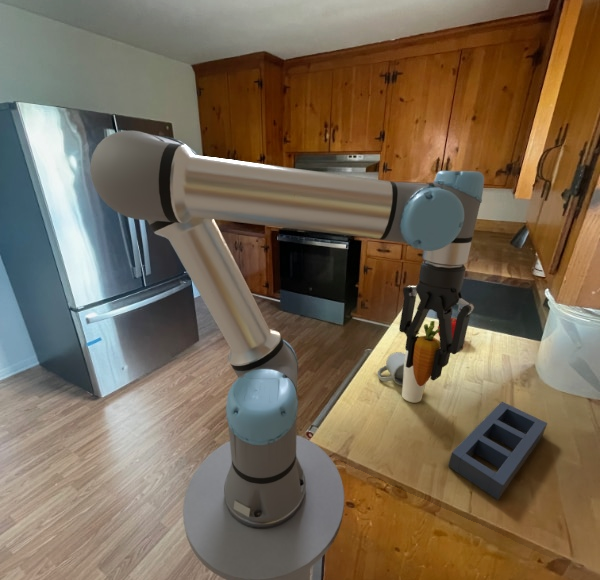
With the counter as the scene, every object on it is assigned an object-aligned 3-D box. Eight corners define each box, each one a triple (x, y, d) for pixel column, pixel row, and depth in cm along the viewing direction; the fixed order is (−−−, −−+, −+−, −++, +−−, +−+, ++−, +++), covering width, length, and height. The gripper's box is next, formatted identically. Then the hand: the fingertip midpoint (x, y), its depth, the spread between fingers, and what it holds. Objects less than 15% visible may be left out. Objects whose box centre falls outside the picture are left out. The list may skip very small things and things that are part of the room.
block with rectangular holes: (448, 466, 70) (451, 452, 69) (498, 413, 86) (501, 401, 84) (497, 500, 63) (503, 485, 62) (542, 436, 79) (547, 423, 77)
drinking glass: (409, 387, 96) (417, 341, 90) (429, 399, 90) (438, 352, 85) (393, 395, 92) (400, 348, 86) (413, 408, 87) (422, 360, 81)
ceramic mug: (405, 369, 104) (408, 348, 101) (417, 385, 96) (420, 362, 93) (373, 371, 103) (375, 350, 100) (382, 387, 95) (385, 365, 92)
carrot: (416, 376, 73) (428, 314, 67) (437, 387, 69) (450, 323, 64) (402, 384, 70) (413, 321, 64) (423, 396, 67) (436, 330, 61)
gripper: (505, 270, 55) (474, 385, 64) (411, 250, 68) (396, 348, 77) (486, 278, 51) (456, 400, 60) (389, 255, 64) (376, 358, 72)
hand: (422, 370), depth 68 cm, fingers closed on carrot, 5 cm apart
